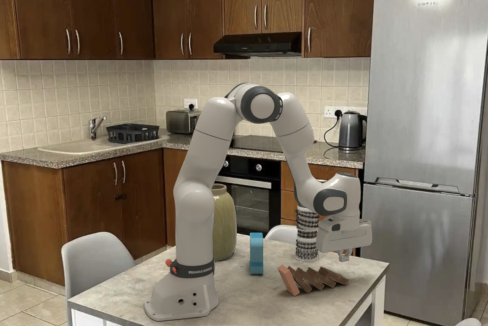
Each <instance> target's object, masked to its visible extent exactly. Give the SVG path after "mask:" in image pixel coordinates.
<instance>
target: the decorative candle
mask: <svg viewBox="0 0 488 326" xmlns="http://www.w3.org/2000/svg"><path fill="white" fill-rule="evenodd" d="M295 214H296V215H295V222H296V224H295V226H296V229H297V233H296V239H295V242H296V243H295V246H296V247H295V259H296V260H298V261H301V262H304V263H305V262H306V263H307V262H309V263H310V262H315V261H317V260H318V258H319V257H318V256H319V251H318V250H317V248H316V237H317V232H318V230H319V229H320V227H319V226H318V222H319V221H320V220H319V218H321V215H318V214H316V213H315V212H313V211H311V210H309V209H307V208H305V207H302V206H300V205H299V204H298V203H297V207H296V209H295Z"/></svg>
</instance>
